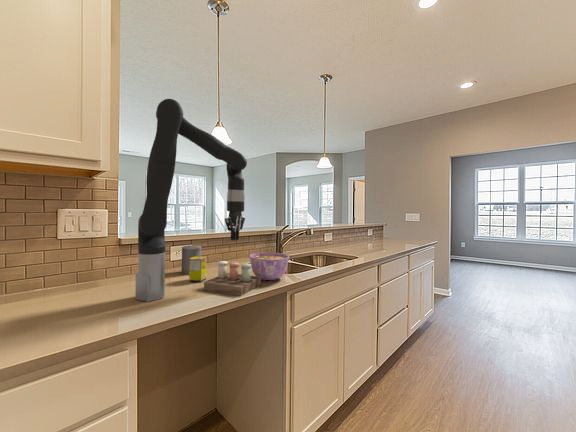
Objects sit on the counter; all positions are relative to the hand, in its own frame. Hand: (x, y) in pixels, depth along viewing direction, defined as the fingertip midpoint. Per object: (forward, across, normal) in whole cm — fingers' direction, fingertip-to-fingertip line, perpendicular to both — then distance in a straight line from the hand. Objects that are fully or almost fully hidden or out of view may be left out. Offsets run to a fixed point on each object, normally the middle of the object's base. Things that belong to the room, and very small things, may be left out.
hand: (234, 239), depth 120 cm
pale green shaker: (+17, 0, -6) cm, 18 cm away
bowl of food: (+21, +20, -8) cm, 30 cm away
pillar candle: (+21, +13, +34) cm, 42 cm away
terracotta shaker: (+17, 0, 0) cm, 17 cm away
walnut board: (+21, 0, 0) cm, 21 cm away
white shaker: (+17, 0, +6) cm, 18 cm away
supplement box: (+21, +2, +21) cm, 30 cm away
